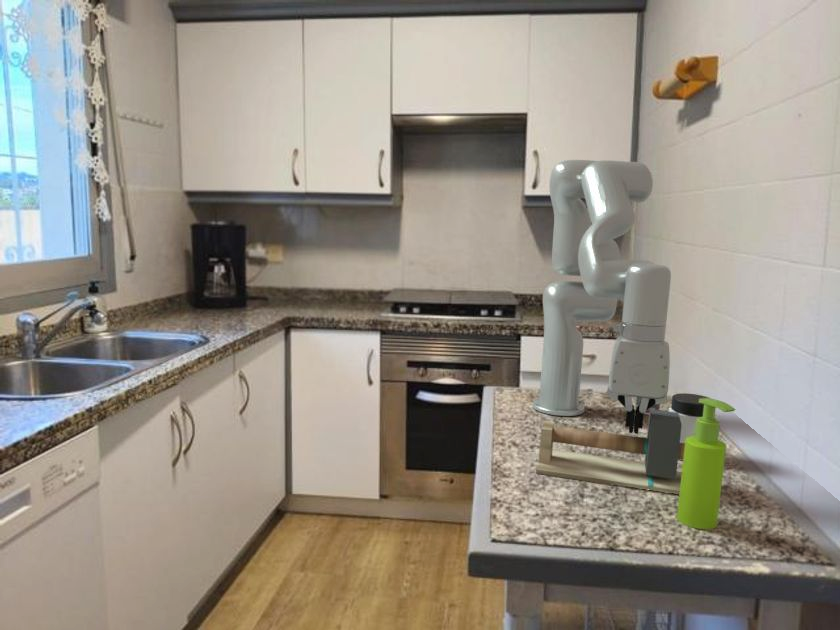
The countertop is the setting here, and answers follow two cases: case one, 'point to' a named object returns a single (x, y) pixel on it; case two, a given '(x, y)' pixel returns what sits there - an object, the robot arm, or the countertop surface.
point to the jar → (687, 412)
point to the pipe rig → (600, 459)
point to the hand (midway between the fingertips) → (633, 430)
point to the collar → (663, 444)
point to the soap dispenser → (703, 470)
